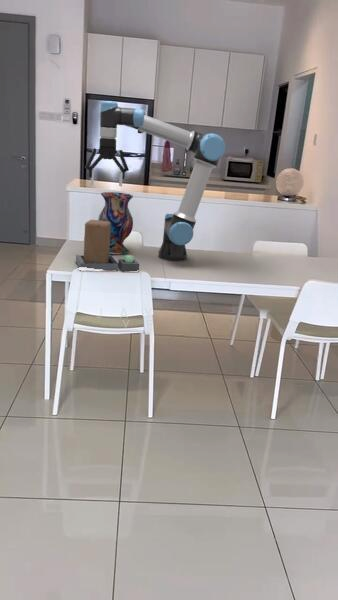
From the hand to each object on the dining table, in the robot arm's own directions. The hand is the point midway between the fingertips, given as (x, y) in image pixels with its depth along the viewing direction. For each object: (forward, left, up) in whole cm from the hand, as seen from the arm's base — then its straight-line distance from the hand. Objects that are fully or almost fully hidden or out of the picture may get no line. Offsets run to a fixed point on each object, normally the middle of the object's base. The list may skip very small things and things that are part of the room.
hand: (106, 185), depth 227 cm
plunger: (-9, +17, -34) cm, 39 cm away
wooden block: (+6, +13, -35) cm, 38 cm away
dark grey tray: (+5, +12, -36) cm, 38 cm away
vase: (-10, -19, -36) cm, 42 cm away
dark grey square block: (-9, +17, -36) cm, 41 cm away
